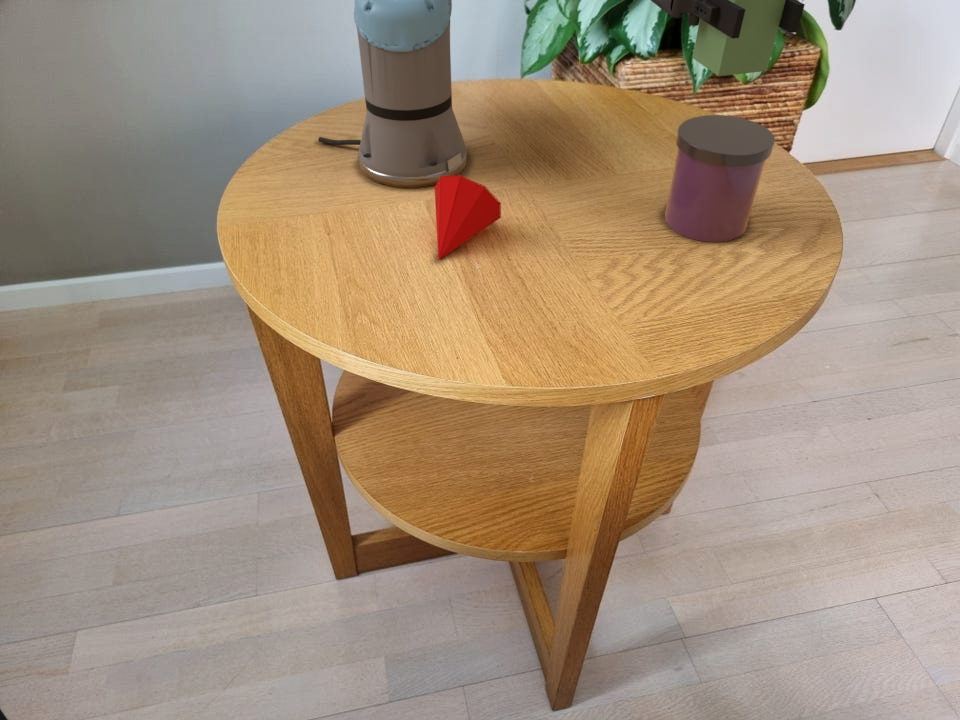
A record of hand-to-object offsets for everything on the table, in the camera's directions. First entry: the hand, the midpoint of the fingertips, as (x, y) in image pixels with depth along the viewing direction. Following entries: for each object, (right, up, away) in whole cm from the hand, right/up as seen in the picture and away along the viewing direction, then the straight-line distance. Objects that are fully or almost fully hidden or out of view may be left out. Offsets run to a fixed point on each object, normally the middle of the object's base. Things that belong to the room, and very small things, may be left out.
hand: (768, 21), depth 71 cm
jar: (-1, -17, +17) cm, 24 cm away
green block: (-1, -1, +8) cm, 8 cm away
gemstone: (-31, -20, +14) cm, 40 cm away
